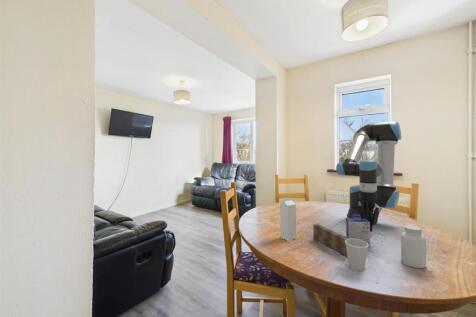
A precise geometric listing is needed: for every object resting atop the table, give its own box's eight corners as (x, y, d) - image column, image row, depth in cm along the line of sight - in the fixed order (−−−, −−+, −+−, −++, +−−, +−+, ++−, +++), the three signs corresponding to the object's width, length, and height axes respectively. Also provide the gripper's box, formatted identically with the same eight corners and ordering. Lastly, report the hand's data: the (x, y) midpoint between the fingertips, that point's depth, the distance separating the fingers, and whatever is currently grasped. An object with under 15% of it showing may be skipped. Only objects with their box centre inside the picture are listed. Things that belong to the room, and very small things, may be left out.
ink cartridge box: (366, 242, 109) (366, 214, 108) (370, 247, 103) (370, 217, 103) (345, 240, 111) (345, 213, 110) (348, 245, 105) (348, 216, 105)
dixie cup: (359, 260, 91) (358, 237, 91) (373, 271, 83) (373, 246, 82) (340, 262, 90) (340, 238, 90) (353, 273, 82) (353, 247, 81)
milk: (296, 239, 115) (296, 198, 114) (287, 241, 112) (287, 199, 111) (288, 235, 120) (288, 196, 119) (280, 237, 117) (279, 197, 116)
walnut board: (313, 239, 114) (313, 224, 114) (317, 238, 115) (317, 223, 114) (347, 258, 93) (346, 240, 93) (351, 257, 94) (351, 239, 94)
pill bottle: (396, 259, 91) (396, 224, 91) (413, 258, 92) (413, 223, 92) (412, 269, 84) (413, 231, 83) (431, 268, 84) (432, 230, 84)
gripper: (351, 189, 113) (351, 233, 114) (374, 193, 101) (374, 243, 102) (362, 188, 116) (362, 231, 116) (386, 192, 103) (385, 240, 104)
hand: (368, 237), depth 109 cm, fingers closed
